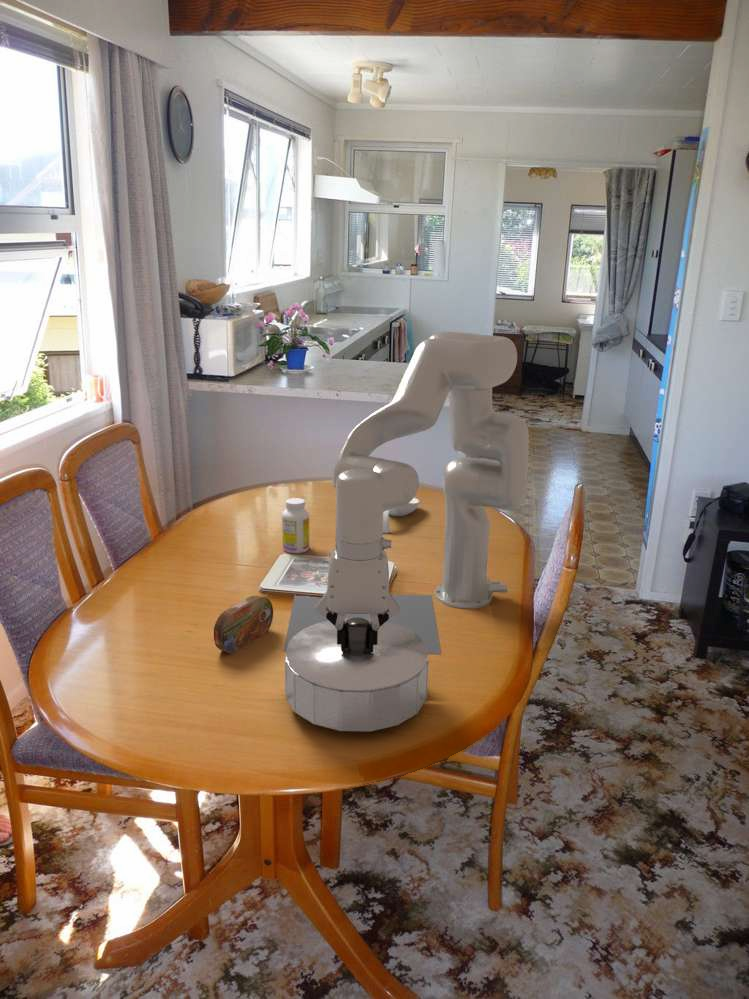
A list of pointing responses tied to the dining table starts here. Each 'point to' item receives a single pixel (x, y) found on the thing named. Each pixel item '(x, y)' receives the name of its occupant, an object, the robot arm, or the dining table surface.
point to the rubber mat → (412, 616)
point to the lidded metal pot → (356, 676)
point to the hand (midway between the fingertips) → (357, 646)
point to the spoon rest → (399, 513)
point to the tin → (243, 623)
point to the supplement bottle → (295, 526)
